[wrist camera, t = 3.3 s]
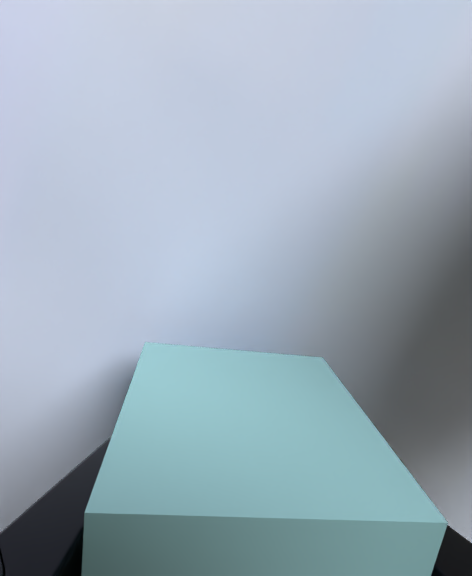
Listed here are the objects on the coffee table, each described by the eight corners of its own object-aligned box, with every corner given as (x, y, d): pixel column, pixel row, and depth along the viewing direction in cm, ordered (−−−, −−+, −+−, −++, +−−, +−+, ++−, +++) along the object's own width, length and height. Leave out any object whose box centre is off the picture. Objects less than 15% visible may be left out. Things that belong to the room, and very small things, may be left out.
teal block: (322, 357, 10) (447, 523, 5) (292, 502, 11) (371, 757, 6) (145, 342, 9) (83, 513, 4) (132, 496, 10) (71, 775, 5)
